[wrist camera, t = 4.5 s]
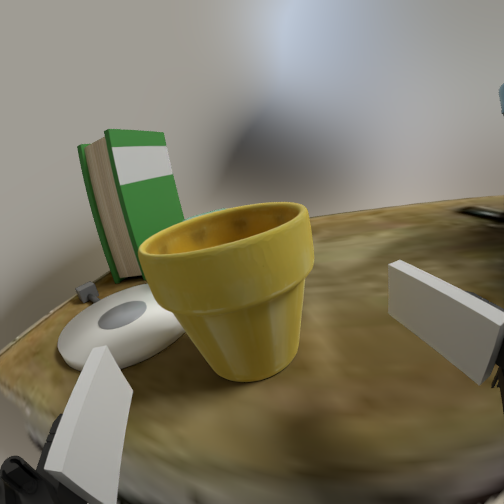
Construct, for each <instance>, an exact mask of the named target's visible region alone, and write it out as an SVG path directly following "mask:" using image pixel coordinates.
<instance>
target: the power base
mask: <svg viewBox="0 0 504 504" xmlns="http://www.w3.org/2000/svg"><path fill="white" fill-rule="evenodd" d="M76 292H77V294H78V297H79V299H80V300H81V301H82V302H83V303H85V302H87V301H89V300H91V301H92V302H93V303H94V304H92V305H91V306H89V307H88V308H86V309H85V310H83V311H82V312H80V313H79V314H78V315H77V316H75V317H74V318H73V319H72V320H71V321H70V322H69V323H68V324H67V325H66V327H65V328H64V329H63V331H62V332H61V334H60V336H59V339H58V349H59V352H60V353H61V355H62V357H63V358H64V360H65V362H66V363H67V364H68V365H69V366H70V367H72V368H73V369H75V370H78V371H82V370H83V367H84V365H85V363H86V361H87V359H88V357H89V355H90V353H91V351H92V349H93V348H96V347H101V346H106V345H107V347H108V349H109V350H110V352H111V354H112V356H113V358H114V360H115V361H116V363H117V365H118V367H119V368H120V369H122V368H125V367H129V366H132V365H134V364H137V363H139V362H141V361H144V360H146V359H148V358H150V357H152V356H154V355H155V354H157V353H159V352H160V351H162V350H164V349H165V348H167V347H168V346H169V345H171V344H172V343H173V342H175V341H176V340H177V339H178V338H179V337H180V336H182V335H183V334H184V332H185V330H184V329H183V327H182V326H181V325H180V323H179V322H178V320H177V319H176V317H175V316H174V314H173V313H172V312H170V311H167V310H165V309H164V308H162V307H161V306H160V305H159V304H158V303H157V302H156V300H155V299H154V297H153V294H152V292H151V290H150V288H149V285H148V284H143V285H139V286H135V287H131V288H128V289H125V290H122V291H120V292H117V293H115V294H112V295H110V296H108V297H106V298H104V299H102V300H100V299H99V298H97V296H99V294H98V291H97V289H96V286H95V284H94V283H92V282H87V283H86V284H83V285H81V286H79V287H77V288H76Z"/></svg>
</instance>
